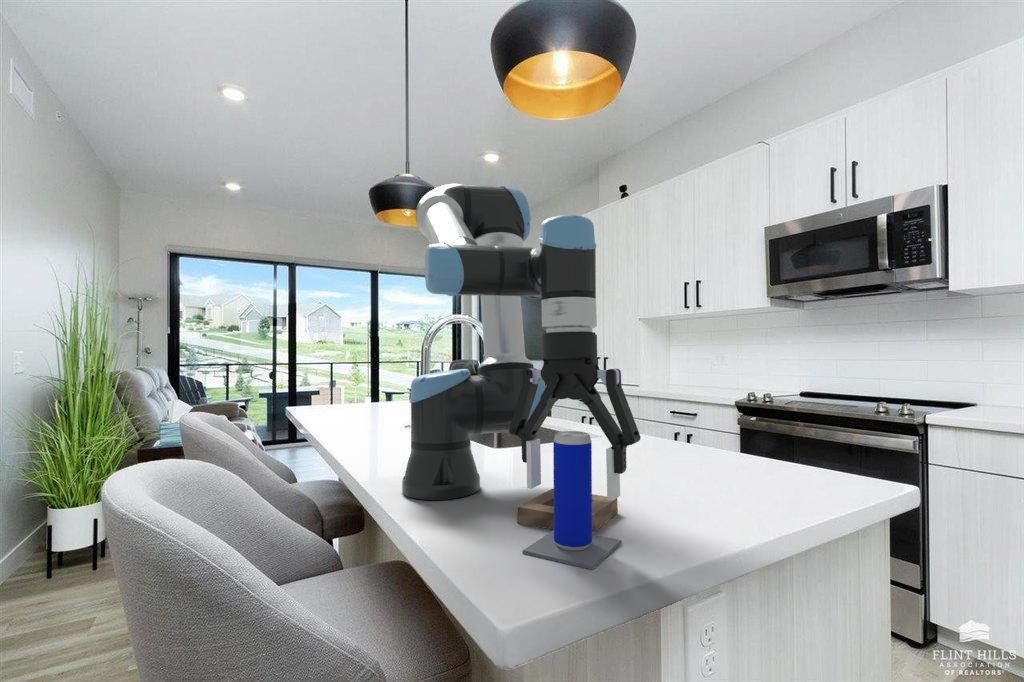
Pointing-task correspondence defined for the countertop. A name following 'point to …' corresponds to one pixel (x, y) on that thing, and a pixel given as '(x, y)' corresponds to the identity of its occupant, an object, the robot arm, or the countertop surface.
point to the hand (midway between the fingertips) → (572, 491)
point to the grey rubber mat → (580, 558)
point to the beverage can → (572, 490)
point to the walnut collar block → (542, 511)
